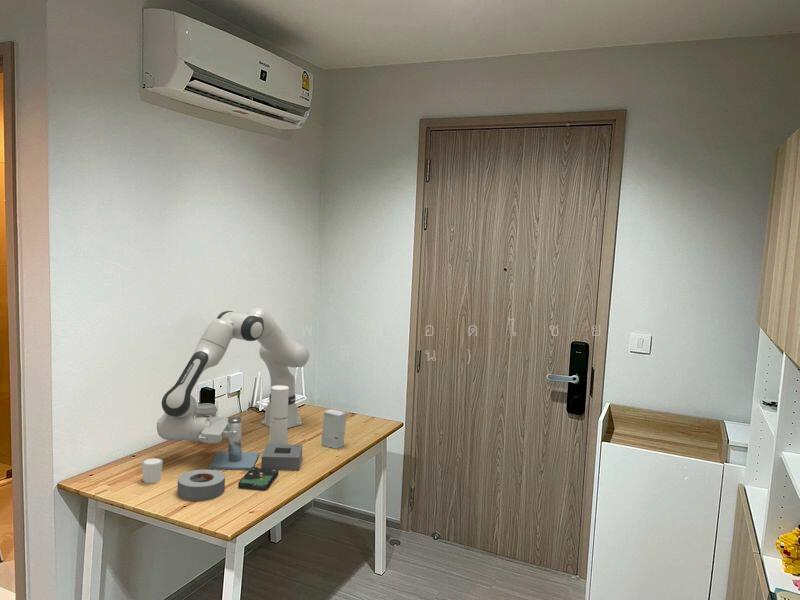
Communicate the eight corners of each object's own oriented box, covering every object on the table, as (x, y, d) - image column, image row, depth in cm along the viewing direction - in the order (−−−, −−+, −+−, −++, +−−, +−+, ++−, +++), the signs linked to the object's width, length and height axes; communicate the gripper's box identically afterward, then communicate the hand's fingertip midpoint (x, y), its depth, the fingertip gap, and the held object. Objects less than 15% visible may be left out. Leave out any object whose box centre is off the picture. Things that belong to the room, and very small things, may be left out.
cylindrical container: (282, 449, 246) (284, 390, 244) (266, 447, 248) (268, 388, 245) (289, 444, 253) (291, 386, 251) (273, 442, 255) (275, 384, 252)
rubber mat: (218, 453, 238) (218, 451, 238) (259, 454, 239) (259, 452, 239) (209, 469, 222) (209, 466, 222) (252, 470, 223) (252, 467, 223)
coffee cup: (216, 436, 258) (217, 402, 257) (217, 443, 249) (217, 408, 248) (193, 437, 255) (193, 403, 254) (192, 445, 246) (193, 409, 245)
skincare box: (321, 445, 254) (322, 411, 252) (328, 441, 259) (330, 408, 258) (337, 449, 250) (339, 415, 248) (345, 445, 255) (346, 411, 254)
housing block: (266, 455, 239) (267, 443, 238) (301, 456, 240) (302, 444, 239) (261, 469, 225) (261, 456, 224) (298, 470, 226) (299, 457, 225)
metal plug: (229, 456, 233) (229, 416, 231) (242, 456, 233) (242, 416, 231) (227, 461, 228) (226, 421, 226) (240, 461, 228) (240, 421, 226)
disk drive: (251, 473, 222) (237, 489, 207) (251, 466, 222) (238, 482, 207) (278, 476, 221) (267, 492, 206) (278, 468, 221) (267, 484, 206)
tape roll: (199, 479, 213) (199, 465, 213) (234, 488, 208) (234, 474, 207) (167, 495, 199) (167, 480, 199) (203, 505, 194) (204, 490, 193)
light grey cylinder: (146, 475, 213) (147, 457, 213) (165, 477, 213) (166, 458, 212) (137, 483, 206) (138, 464, 206) (157, 485, 206) (157, 465, 206)
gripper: (194, 430, 218) (233, 431, 219) (208, 413, 238) (243, 414, 239) (194, 447, 218) (232, 448, 220) (207, 429, 239) (242, 430, 240)
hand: (238, 430), depth 230 cm, fingers open, 6 cm apart
